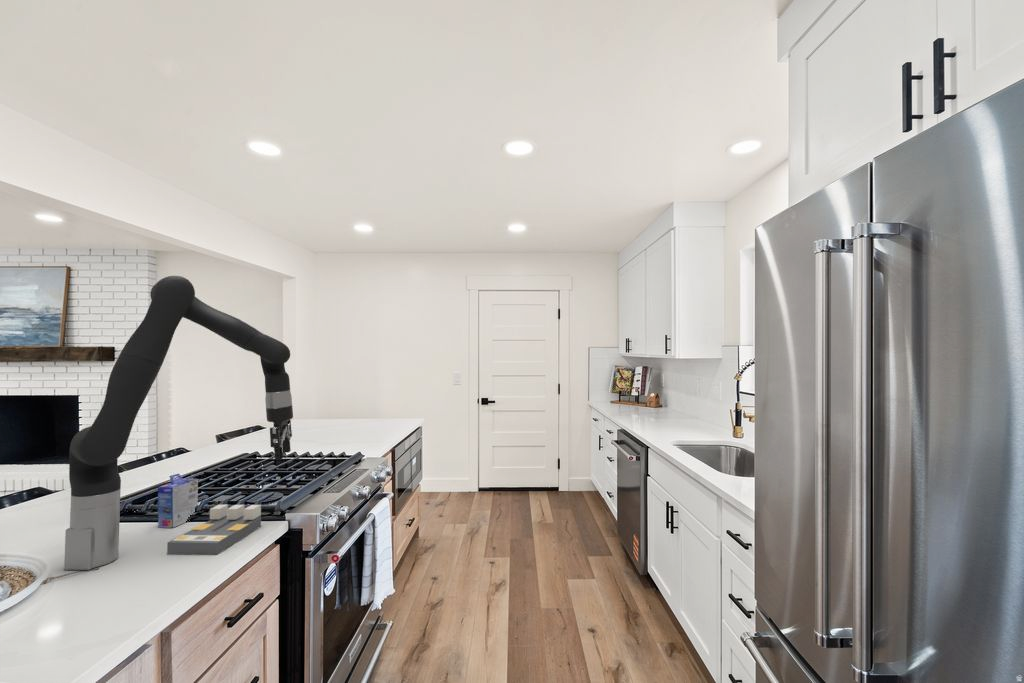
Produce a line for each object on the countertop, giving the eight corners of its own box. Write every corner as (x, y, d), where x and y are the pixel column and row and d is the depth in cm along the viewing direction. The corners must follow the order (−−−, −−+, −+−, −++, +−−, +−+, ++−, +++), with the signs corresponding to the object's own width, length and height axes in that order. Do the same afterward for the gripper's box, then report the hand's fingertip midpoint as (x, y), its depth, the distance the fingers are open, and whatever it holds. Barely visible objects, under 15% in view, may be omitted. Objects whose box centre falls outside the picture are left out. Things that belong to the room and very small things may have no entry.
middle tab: (236, 519, 135) (236, 509, 136) (226, 519, 135) (226, 509, 136) (244, 514, 139) (244, 504, 140) (235, 514, 139) (235, 504, 140)
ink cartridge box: (182, 516, 148) (183, 470, 148) (198, 517, 147) (199, 471, 148) (155, 527, 138) (157, 478, 139) (172, 528, 138) (174, 479, 138)
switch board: (218, 554, 119) (218, 542, 119) (166, 554, 119) (166, 542, 120) (261, 526, 139) (262, 516, 139) (217, 526, 139) (217, 515, 140)
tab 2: (253, 519, 135) (253, 509, 135) (243, 519, 135) (243, 509, 135) (260, 515, 139) (261, 504, 139) (251, 514, 139) (251, 504, 139)
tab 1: (219, 519, 136) (219, 508, 136) (209, 519, 136) (210, 508, 136) (227, 514, 140) (228, 504, 140) (218, 514, 140) (218, 504, 140)
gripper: (273, 403, 154) (277, 451, 155) (258, 410, 140) (262, 463, 141) (297, 401, 156) (301, 449, 156) (285, 407, 142) (289, 460, 142)
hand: (283, 455), depth 148 cm, fingers open, 8 cm apart
